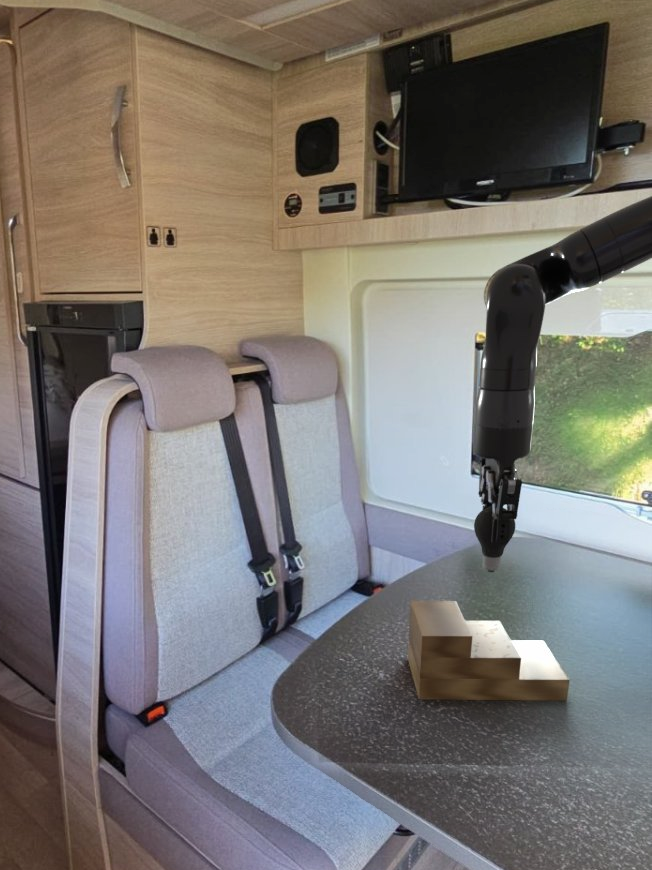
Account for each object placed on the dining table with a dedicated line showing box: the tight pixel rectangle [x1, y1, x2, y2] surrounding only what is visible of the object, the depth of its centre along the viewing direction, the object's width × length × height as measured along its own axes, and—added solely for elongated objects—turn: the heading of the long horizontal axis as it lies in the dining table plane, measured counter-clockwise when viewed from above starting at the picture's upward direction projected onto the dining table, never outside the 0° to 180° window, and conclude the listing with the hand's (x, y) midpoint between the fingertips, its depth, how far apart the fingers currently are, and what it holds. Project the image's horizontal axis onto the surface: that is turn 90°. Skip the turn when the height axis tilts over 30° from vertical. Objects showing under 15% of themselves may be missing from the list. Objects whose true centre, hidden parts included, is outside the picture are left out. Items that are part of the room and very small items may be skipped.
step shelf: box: [407, 600, 570, 702], centre depth 109 cm, size 21×12×10 cm, turn 85°
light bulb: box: [473, 506, 516, 574], centre depth 104 cm, size 6×6×10 cm
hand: (494, 536), depth 104 cm, fingers closed on light bulb, 5 cm apart
